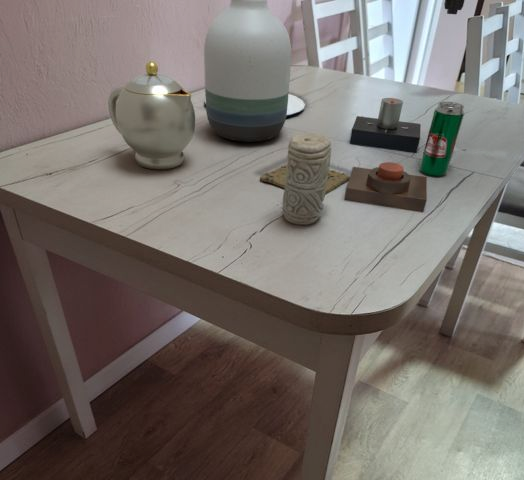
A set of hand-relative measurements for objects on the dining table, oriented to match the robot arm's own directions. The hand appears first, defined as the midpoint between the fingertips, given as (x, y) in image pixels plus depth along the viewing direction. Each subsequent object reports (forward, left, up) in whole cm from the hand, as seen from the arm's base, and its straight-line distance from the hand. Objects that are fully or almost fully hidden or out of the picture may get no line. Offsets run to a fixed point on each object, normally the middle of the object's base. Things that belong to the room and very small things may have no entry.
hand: (451, 13), depth 79 cm
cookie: (+19, +15, -25) cm, 34 cm away
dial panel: (+6, -13, -25) cm, 29 cm away
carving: (+16, +30, -25) cm, 42 cm away
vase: (+35, -5, -25) cm, 44 cm away
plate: (+39, -27, -25) cm, 54 cm away
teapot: (+47, +16, -25) cm, 56 cm away
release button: (+4, +17, -21) cm, 28 cm away
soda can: (-4, +2, -25) cm, 25 cm away
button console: (+4, +16, -25) cm, 30 cm away
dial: (+6, -13, -22) cm, 26 cm away
